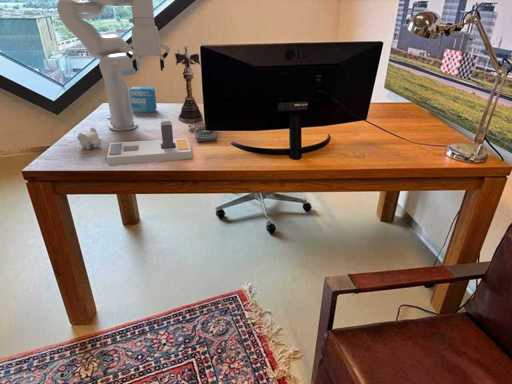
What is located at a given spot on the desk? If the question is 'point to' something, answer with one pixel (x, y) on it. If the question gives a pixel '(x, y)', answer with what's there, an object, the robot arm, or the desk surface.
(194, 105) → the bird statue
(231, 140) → the desk surface
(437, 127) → the desk surface
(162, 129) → the grey long rectangular block
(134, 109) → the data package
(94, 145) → the elephant figurine
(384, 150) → the desk surface
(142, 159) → the socket block
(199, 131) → the graphics card
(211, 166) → the desk surface
